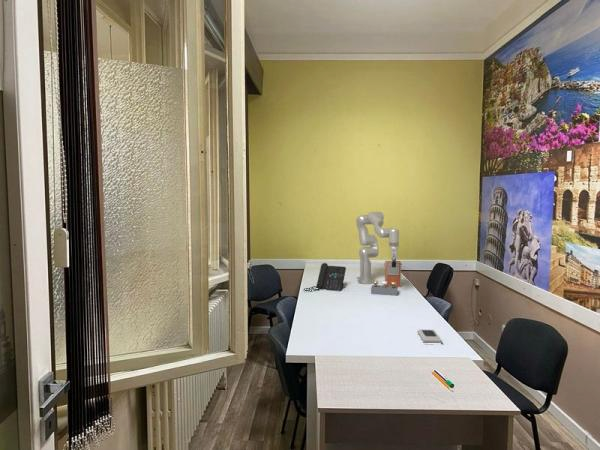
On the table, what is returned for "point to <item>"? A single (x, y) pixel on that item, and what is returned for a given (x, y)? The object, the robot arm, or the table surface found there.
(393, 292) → the mount
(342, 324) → the table surface
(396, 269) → the control panel
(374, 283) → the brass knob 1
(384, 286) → the grey knob middle
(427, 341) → the keypad
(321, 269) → the office phone
